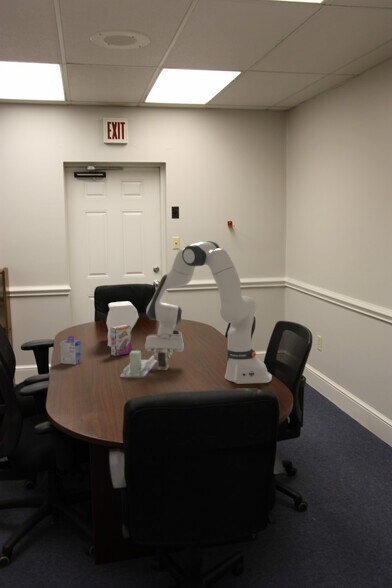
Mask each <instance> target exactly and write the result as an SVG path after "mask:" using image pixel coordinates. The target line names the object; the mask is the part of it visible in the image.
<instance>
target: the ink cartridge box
mask: <svg viewBox="0 0 392 588" xmlns="http://www.w3.org/2000/svg"><path fill="white" fill-rule="evenodd" d="M59 343H60V344H59V345H60V347H59V348H60V364H64V365H79V364H81V363H82V351H81V348H82V347H81V340H75V336H71V335H68V338H67V339H65V340H62V341H60V342H59Z"/></svg>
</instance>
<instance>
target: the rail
mask: <svg viewBox="0 0 392 588" xmlns="http://www.w3.org/2000/svg"><path fill="white" fill-rule="evenodd" d="M157 363H158V359H156V357H155V354H154V355H151V356H150V357H149V358H148V359H142V351H141V350H131V352H130V353H129V363H128V365H126V366H125V367H124V369H123V370H122V373H121V374H120V375H119V376H120V378H129V379H130V378H133V379H134V378H135V379H136V378H137V379H138V378H139V379H142V378H143V379H145V378H146V376H147V375H148V374H149V373H150V372H151V370H152V369H153V367H154V366H155V365H156V364H157Z"/></svg>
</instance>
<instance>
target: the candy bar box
mask: <svg viewBox="0 0 392 588" xmlns="http://www.w3.org/2000/svg"><path fill="white" fill-rule="evenodd" d="M131 351H132V330H131V326H130V325H121V326H116V327H111V347H110V354H111V356H114V357H119V356H124V355H127V354H130V352H131Z"/></svg>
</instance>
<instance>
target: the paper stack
mask: <svg viewBox="0 0 392 588" xmlns="http://www.w3.org/2000/svg"><path fill="white" fill-rule="evenodd" d="M107 305H108V308H109V311H108V313H107V317H106V327H107V330H108V331H107V340H108V341H107V347H108V346H109V347H108V348H111V327H116V326H121V325H130V326H131V331H132V329H133V328H134V327H135V325H136V323H137V321H138V319H139V313H138V310H137V308H136V307H135V306H134V305H133V303H132V302H130V301H127V300H126V301H116V302H110V303H108V304H107Z"/></svg>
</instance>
